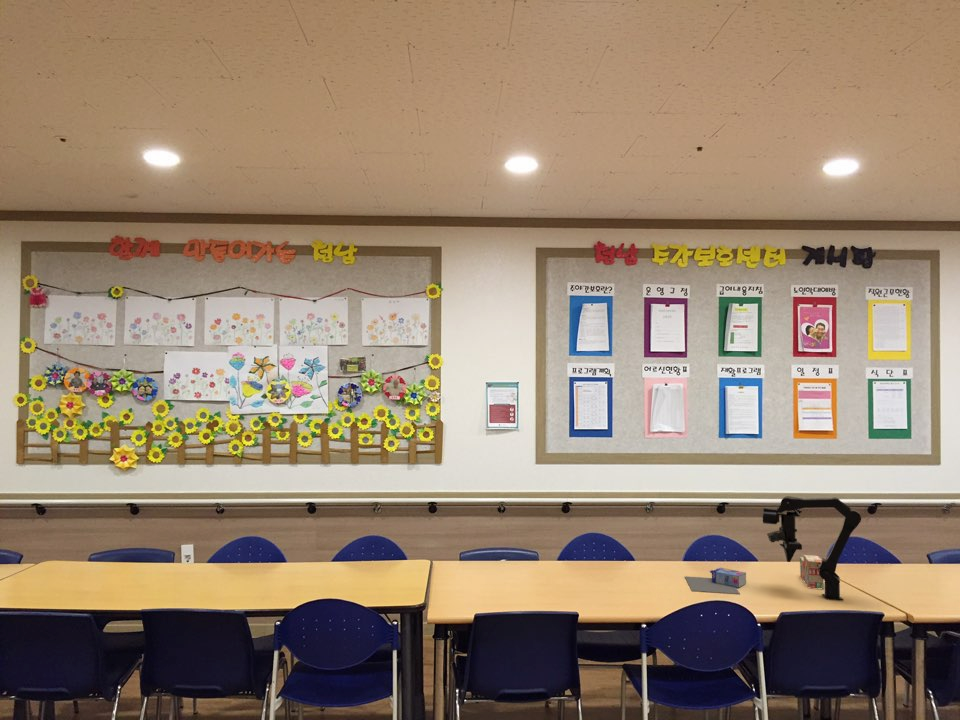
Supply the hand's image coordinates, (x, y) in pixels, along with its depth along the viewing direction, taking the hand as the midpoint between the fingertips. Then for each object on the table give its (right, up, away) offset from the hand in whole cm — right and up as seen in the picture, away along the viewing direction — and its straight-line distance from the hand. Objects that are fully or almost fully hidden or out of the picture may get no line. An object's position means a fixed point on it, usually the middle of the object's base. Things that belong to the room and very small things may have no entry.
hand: (788, 561), depth 292 cm
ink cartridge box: (-17, -10, +7) cm, 21 cm away
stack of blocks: (+18, -15, +15) cm, 28 cm away
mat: (-31, -13, +8) cm, 35 cm away
